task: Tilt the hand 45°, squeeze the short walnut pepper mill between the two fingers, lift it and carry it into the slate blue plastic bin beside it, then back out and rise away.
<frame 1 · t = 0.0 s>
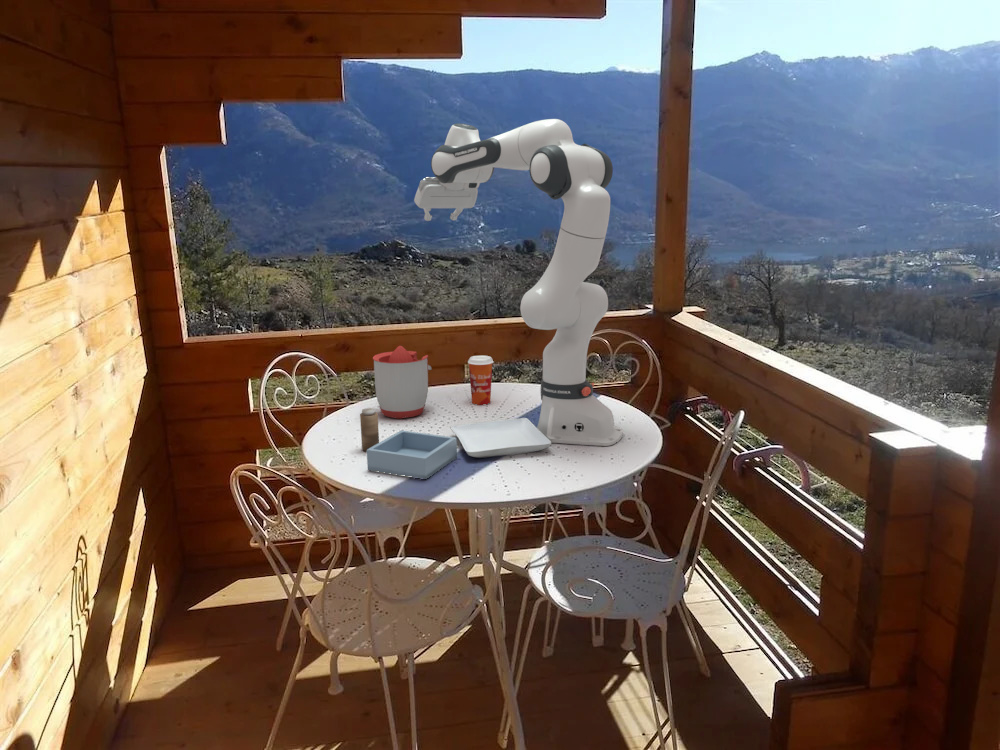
hand: (440, 219, 209), 54 cm above the table, tool tilted 30°, fingers open, 8 cm apart
walnut pepper mill: (370, 449, 168), on the table
paper cup: (481, 403, 207), on the table
citrus juicer: (405, 413, 198), on the table
salad plate: (499, 446, 170), on the table
slate blue bin: (413, 464, 157), on the table
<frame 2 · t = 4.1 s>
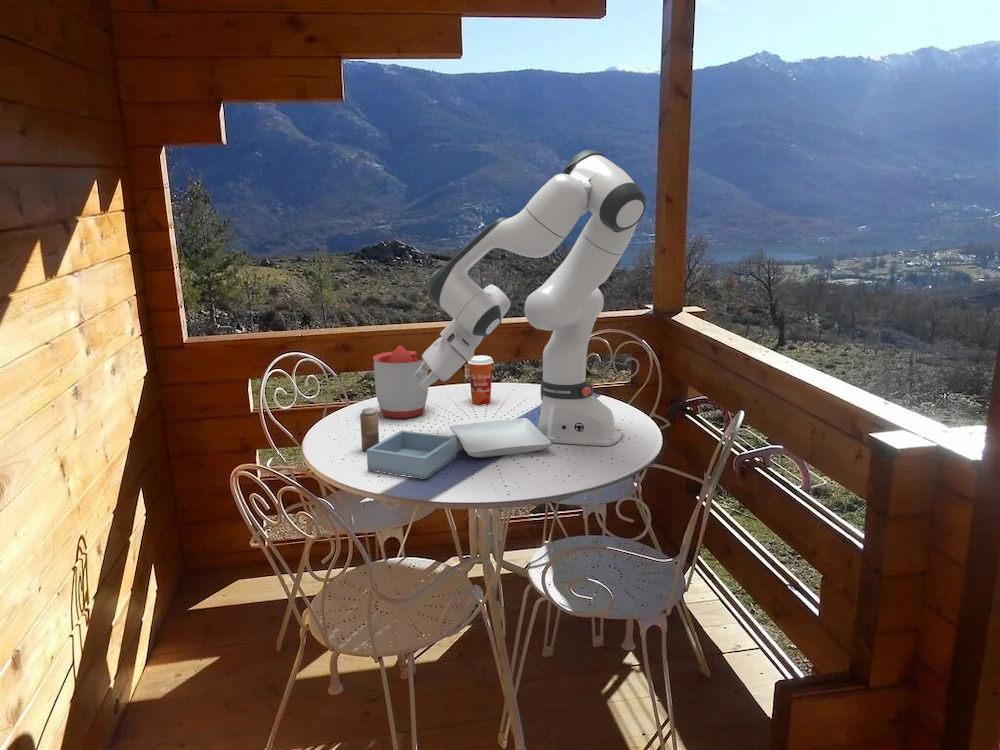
hand: (418, 382, 166), 16 cm above the table, tool tilted 45°, fingers open, 8 cm apart
nothing on the table moved.
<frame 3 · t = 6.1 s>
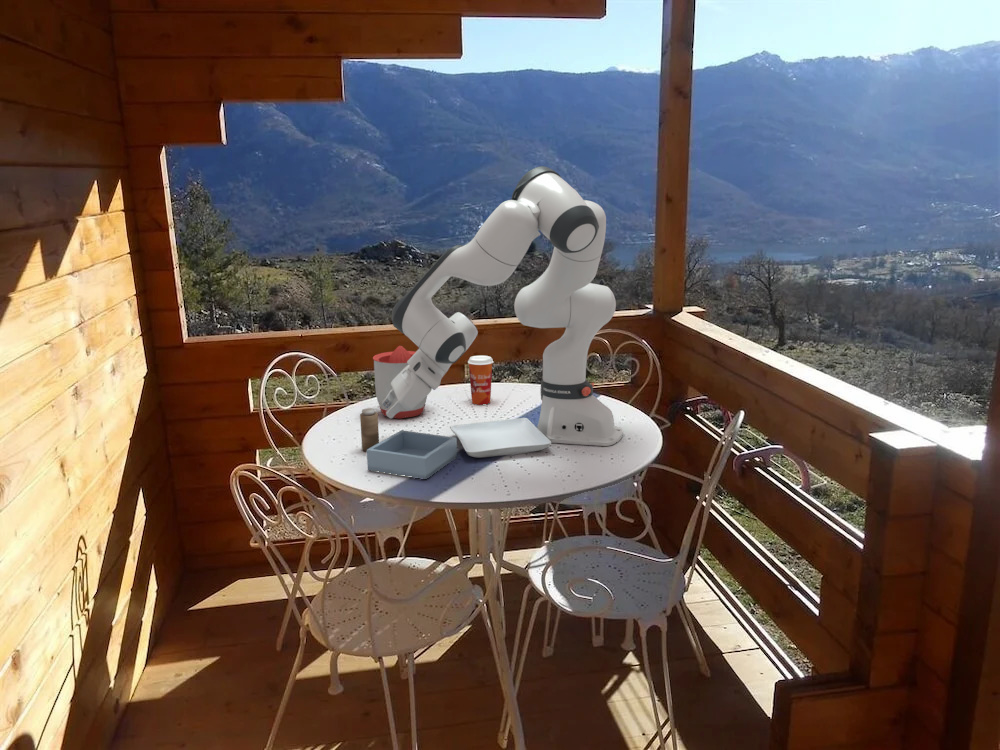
hand: (386, 410, 165), 10 cm above the table, tool tilted 45°, fingers open, 8 cm apart
nothing on the table moved.
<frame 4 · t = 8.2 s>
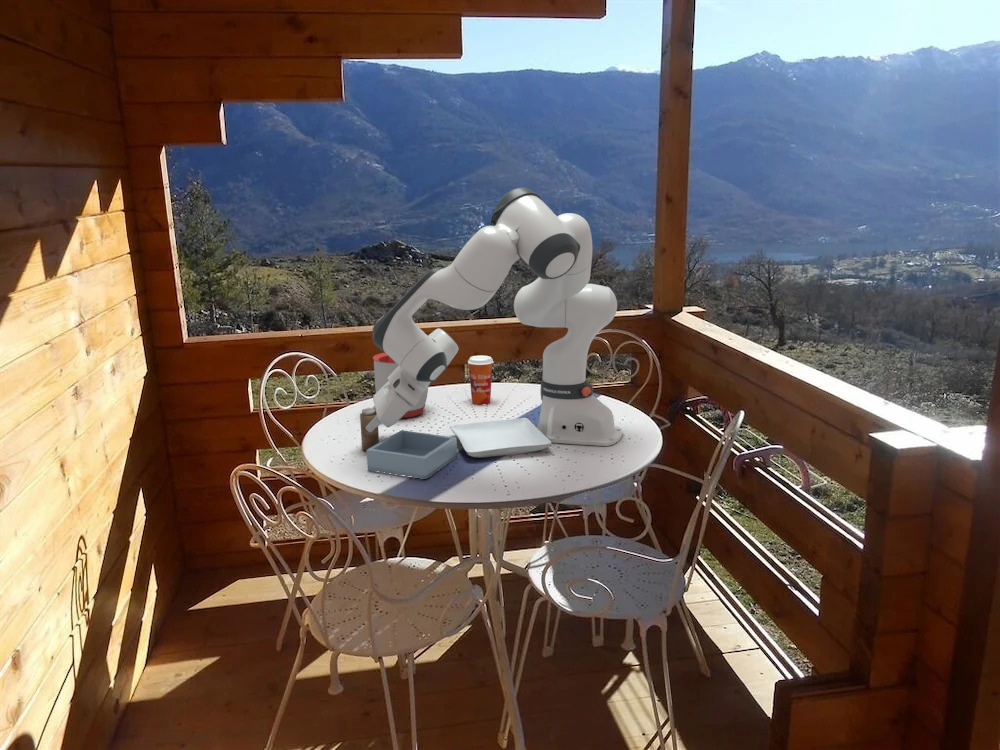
hand: (366, 426, 166), 6 cm above the table, tool tilted 45°, fingers closed on walnut pepper mill, 4 cm apart
walnut pepper mill: (370, 449, 168), on the table, touching gripper
everything else where it was.
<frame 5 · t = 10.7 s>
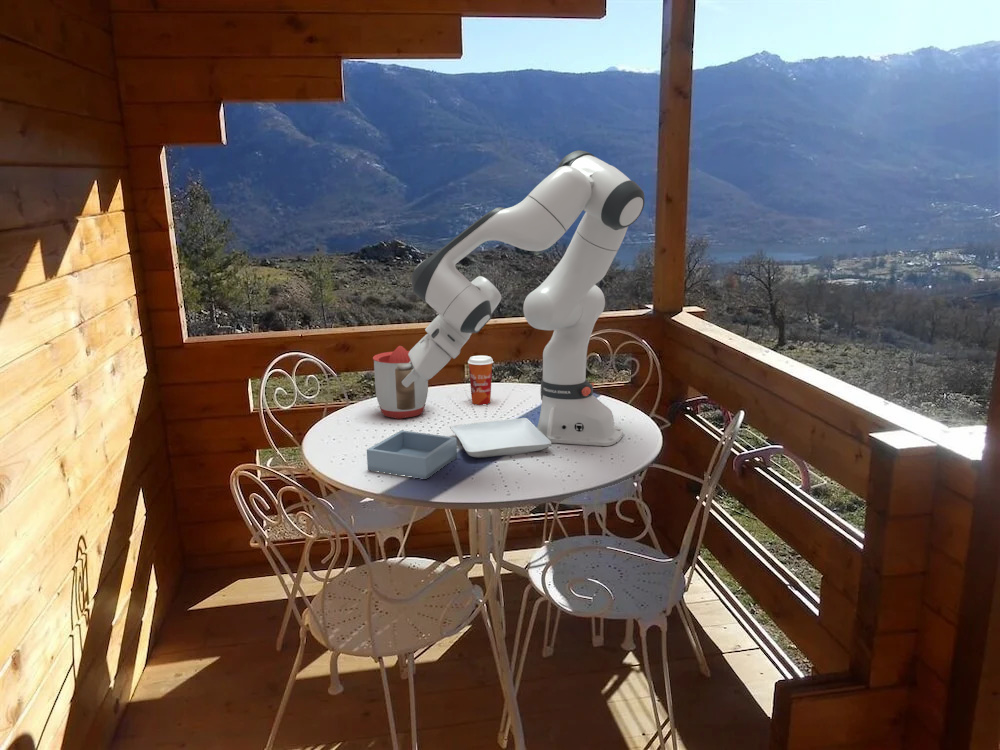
hand: (402, 382, 154), 19 cm above the table, tool tilted 45°, fingers closed on walnut pepper mill, 4 cm apart
walnut pepper mill: (406, 407, 156), point 13 cm above the table, touching gripper
everything else where it was.
when the fingers open (8 cm above the table, at t = 13.3 s): walnut pepper mill drops 1 cm, resting on slate blue bin.
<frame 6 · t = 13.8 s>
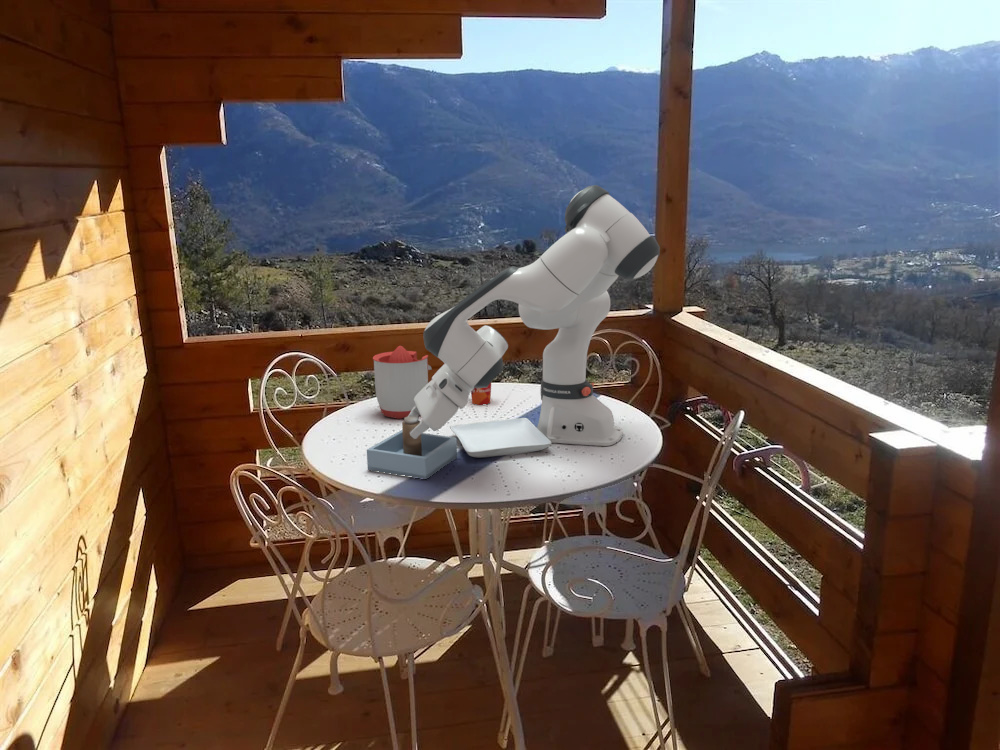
hand: (409, 429, 155), 8 cm above the table, tool tilted 45°, fingers open, 8 cm apart
walnut pepper mill: (413, 459, 157), point 1 cm above the table, touching slate blue bin
everything else where it was.
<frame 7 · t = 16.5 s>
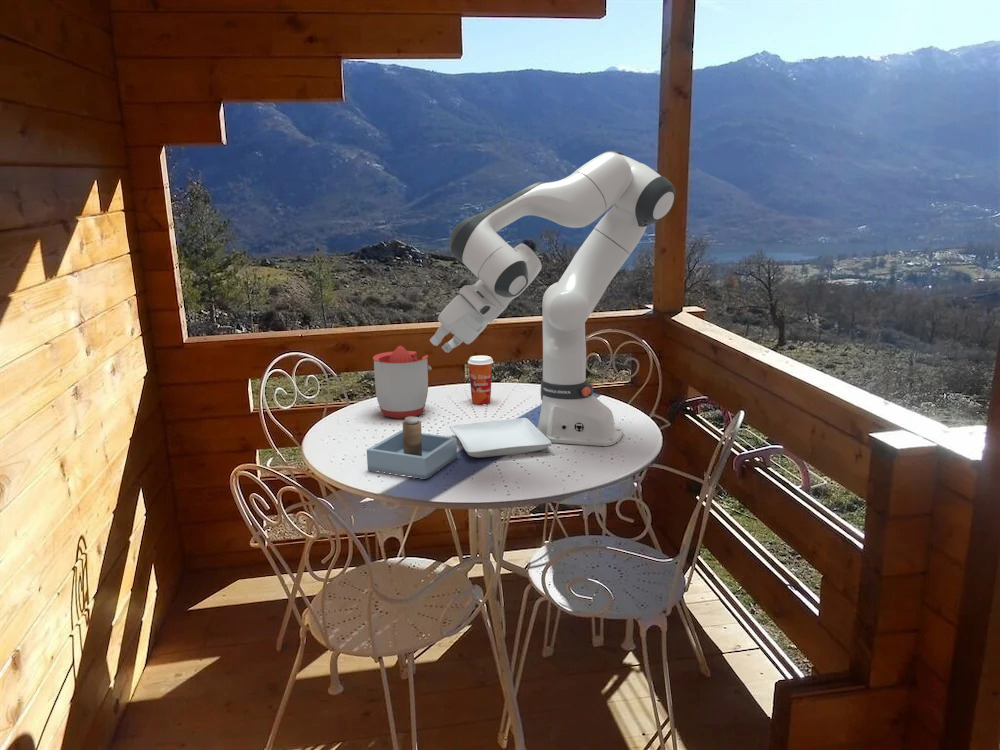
hand: (438, 347, 154), 27 cm above the table, tool tilted 45°, fingers open, 8 cm apart
nothing on the table moved.
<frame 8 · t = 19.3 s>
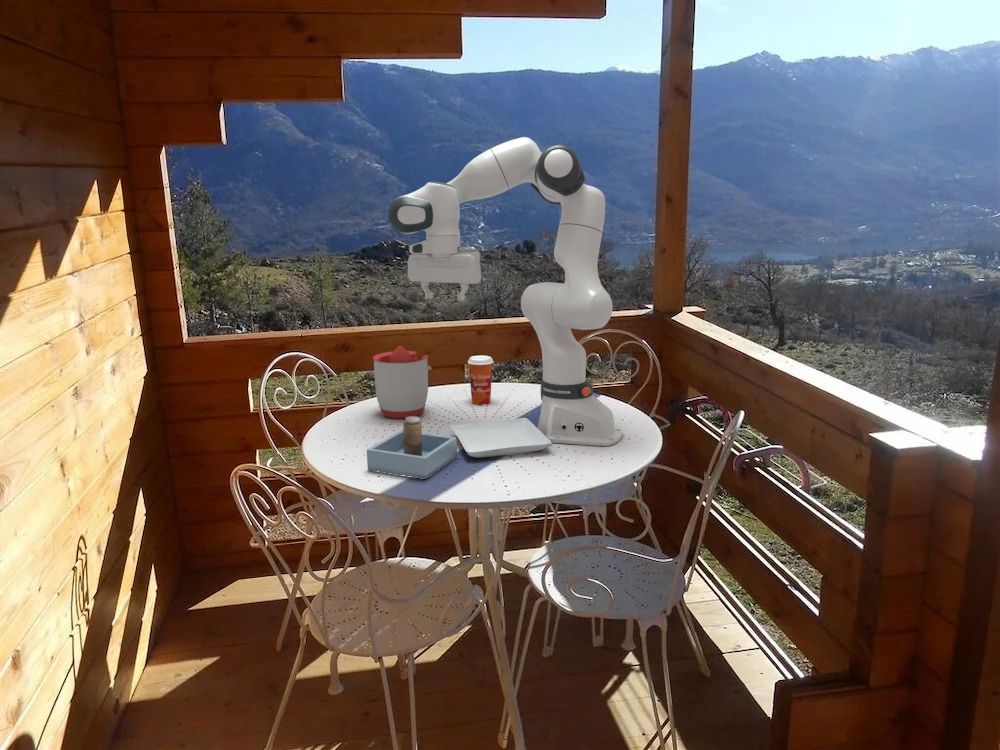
hand: (444, 299, 180), 34 cm above the table, tool pointing down, fingers open, 8 cm apart
nothing on the table moved.
at the end: walnut pepper mill inside the target area on the slate blue bin (0.1 cm from its centre), point 1.1 cm above the slate blue bin's base; walnut pepper mill tilted 2°; the gripper is holding nothing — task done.
